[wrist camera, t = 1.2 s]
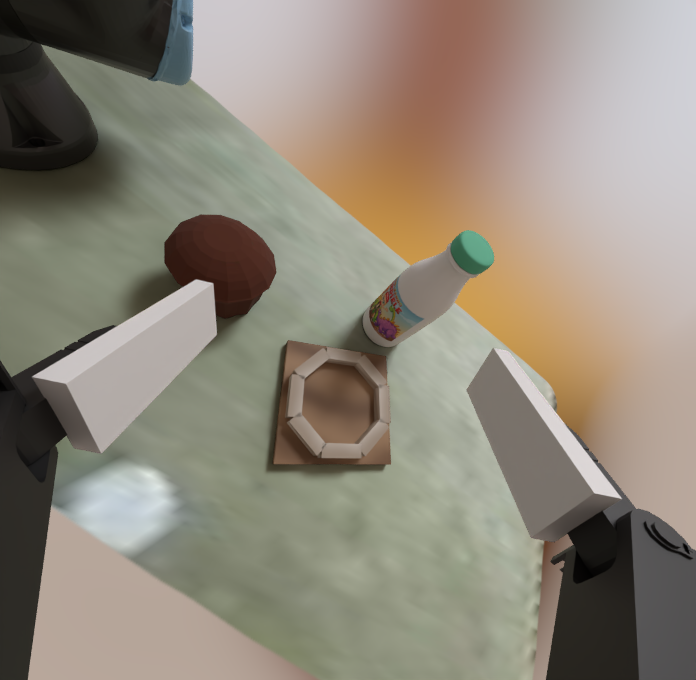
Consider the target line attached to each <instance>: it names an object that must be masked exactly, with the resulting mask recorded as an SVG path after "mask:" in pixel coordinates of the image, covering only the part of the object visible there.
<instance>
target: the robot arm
mask: <svg viewBox="0 0 696 680" xmlns="http://www.w3.org/2000/svg"><path fill="white" fill-rule="evenodd" d="M192 21H193V0H0V167H6V168H13V169H24V170H44V169H54V168H60V167H64V166H68V165H71V164H74V163H77V162H79V161H81V160H83V159H84V158H86V157H87V156H88V155H90V154H91V153H92V152H93V150H94V149H95V147H96V145H97V141H98V134H97V130H96V127H95V125H94V123H93V120H92V118H91V115H90V113H89V111H88V109H87V108H86V106H85V104H84V103H83V102H82V101H81V99H80V98H79V97H78V96H77V95H76V94H75V93H74V91H73V90H72V89H71V87H70V86H69V84H68V83H67V82H66V80H65V79H64V78H63V76H62V75H61V73H60V72H59V71H58V69H57V68H56V67H55V65H54V64H53V63H52V62H51V60H50V59H49V58H48V56H47V55H46V53H45V52H44V50H43V48H42V46H41V44H42V45H46V46H49V47H52V48H55V49H58V50H62V51H65V52H68V53H71V54H74V55H77V56H80V57H83V58H86V59H89V60H92V61H95V62H98V63H102V64H105V65H108V66H111V67H114V68H117V69H120V70H123V71H126V72H129V73H132V74H135V75H139V76H142V77H145V78H147V79H148V80H151V81H158V80H159V81H163V82H167V83H171V84H175V85H184V84H186V83H187V82H188V81H189V80H190V77H191V72H192V60H193V26H192ZM216 335H217V327H216V313H215V299H214V285H213V283H210V282H205V281H201V280H197V279H196V280H194V281H193V282H191V283H189V284H188V285H186V286H184V287H183V288H181V289H179V290H177V291H176V292H174V293H172V294H171V295H169V296H167V297H166V298H164V299H162V300H161V301H159V302H157V303H156V304H154V305H152V306H150V307H149V308H147V309H145V310H144V311H142V312H140V313H139V314H137V315H135V316H134V317H132V318H130V319H129V320H127V321H125V322H123V323H122V324H120V325H118V326H114V325H112V326H109V327H106V328H103V329H100V330H96V331H93V332H92V333H90V334H88V335H86V336H85V337H83V338H81V339H79V340H78V342H74V343H72V344H70V345H69V346H67V347H65V349H64V350H60V351H58V352H56V353H54V354H52V355H51V356H49V357H47V358H45V359H44V360H42V361H40V362H38V363H36V364H35V365H33V366H31V367H29V368H28V369H26V370H24V371H22V372H20V373H19V374H17V375H15V376H13V377H12V378H11V376H10V375H9V373H8V372H7V370H6V369H5V367H4V366H3V364H2V362H1V361H0V680H28V672H29V665H30V657H31V650H32V643H33V635H34V628H35V620H36V613H37V606H38V599H39V591H40V583H41V576H42V569H43V562H44V554H45V547H46V539H47V532H48V524H49V517H50V510H51V502H52V495H53V488H54V480H55V473H56V465H57V458H58V451H57V447H56V446H55V445H56V444H57V443H58V442H59V441H60V440H62V439H63V438H64V437H65V436H66V435H67V437H68V439H69V441H70V442H71V444H72V446H73V447H74V448H75V449H80V450H86V451H91V452H96V453H102V452H103V451H104V450H105V449H106V448H107V447H108V446H109V445H110V444H111V443H112V442H113V441H114V440H115V439H116V438H117V437H118V436H119V435H120V434H121V433H122V432H123V431H124V430H125V429H126V428H127V427H128V426H129V425H130V424H131V423H132V422H133V420H134V419H135V418H136V417H137V416H138V415H139V414H140V413H141V412H142V411H143V410H144V409H145V408H146V407H147V406H148V405H149V404H150V403H151V402H152V401H153V400H154V399H155V398H156V397H157V396H158V395H159V394H160V393H161V392H162V391H163V390H164V389H165V388H166V387H167V386H168V385H169V384H170V382H171V381H172V380H173V379H174V378H175V377H176V376H177V375H178V374H179V373H180V372H181V371H182V370H183V369H184V368H185V367H186V366H187V365H188V364H189V363H190V362H191V361H192V360H193V359H194V358H195V357H196V356H197V355H198V354H199V353H200V352H201V351H202V350H203V349H204V348H205V347H206V346H207V344H208V343H209V342H210V341H211V340H212V339H213V338H214V337H215V336H216ZM467 392H468V394H469V397H470V399H471V401H472V404H473V406H474V408H475V411H476V413H477V415H478V417H479V420H480V422H481V424H482V427H483V429H484V431H485V433H486V436H487V438H488V440H489V443H490V445H491V447H492V450H493V452H494V454H495V456H496V459H497V461H498V463H499V466H500V468H501V470H502V472H503V475H504V477H505V479H506V482H507V484H508V486H509V489H510V491H511V493H512V495H513V498H514V500H515V502H516V505H517V507H518V509H519V512H520V514H521V516H522V518H523V521H524V523H525V525H526V528H527V530H528V532H529V534H530V537H531V538H534V539H540V540H545V541H550V542H555V541H557V540H559V539H560V538H561V537H563V536H565V535H566V534H568V535H569V537H570V539H571V541H572V543H573V544H574V545H572V546H571V547H569V548H568V549H566V550H564V551H562V552H561V553H559V554H557V555H556V556H554V557H553V558H552V560H551V563H552V564H554V565H555V564H557V563H559V562H560V561H562V560H563V561H565V563H564V567H563V568H561V569H560V570H561V571H562V572H563V576H562V583H561V588H560V595H559V601H558V608H557V613H556V621H555V626H554V633H553V638H552V645H551V652H550V658H549V664H548V670H547V676H546V680H696V551H695V550H693V549H691V547H690V546H689V545H688V543H687V542H686V541H685V540H684V538H682V537H681V536H680V535H679V534H678V533H677V532H676V531H675V530H674V529H673V528H672V527H671V526H669V525H668V524H667V523H666V522H664V521H663V520H661V519H660V518H659V517H657V516H655V515H653V514H652V513H650V512H648V511H644V510H641V509H636V508H635V507H634V505H633V504H632V503H631V502H630V500H629V499H628V498H627V497H626V495H624V493H623V491H622V490H621V489H620V488H619V486H618V485H617V484H616V483H615V481H614V480H613V479H612V477H611V476H610V475H609V474H608V472H607V471H606V470H605V469H604V467H603V466H602V465H601V464H600V463H598V460H597V459H596V457H595V456H594V455H593V453H592V452H589V448H588V447H587V446H586V445H585V443H584V442H583V441H582V439H581V438H580V437H579V436H578V435H577V434H576V433H575V432H574V431H573V430H572V429H570V428H569V427H568V426H567V425H566V424H565V423H563V421H562V420H561V419H560V417H559V416H558V415H557V414H556V412H555V411H554V410H553V408H552V407H551V406H550V404H549V403H548V402H547V401H546V399H545V398H544V397H543V395H542V394H541V393H540V391H539V390H538V389H537V388H536V386H535V385H534V384H533V382H532V381H531V380H530V378H529V377H528V376H527V375H526V373H525V372H524V371H523V369H522V368H521V367H520V365H519V364H518V363H517V362H516V360H515V359H514V358H513V356H512V355H511V354H510V352H509V351H505V350H500V349H496V348H493V349H492V351H491V352H490V354H489V355H488V357H487V358H486V360H485V362H484V363H483V365H482V366H481V368H480V369H479V371H478V373H477V374H476V376H475V377H474V379H473V381H472V382H471V384H470V385H469V387H468V388H467Z"/></svg>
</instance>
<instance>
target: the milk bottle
mask: <svg viewBox="0 0 696 680" xmlns="http://www.w3.org/2000/svg"><path fill="white" fill-rule="evenodd" d="M493 262H494V254H493V251H492V248H491V246H490V245H489V243H488V242H487V241H486V240H485V239H484V238H483V237H482V236H480V235H479V234H478V233H476V232H474V231H469V230H467V231H464V232H462V233H461V234H459V235H458V236H457V237H456V238H455V239H454V240H453V241H452V243H450V244H449V245H448V246H447V249H446V251H444V252H442V253H440V254H438V255H436V256H434V257H431V258H427V259H424V260H421V261H419V262H417V263H415V264H413V265H411V266H410V267H409V268H407V269H406V270H405V271H404V272H403V273H402V274H401V275H400V276H398V277H397V278H396V279H395V280H394V281H393V282H392V284H391V285H390V286H389V287H388V288H387V289H386V290H385V291H384V292H383V293H382V294H381V295H380V296H379V297H378V298H377V299H376V300H375V301H374V302H373V303H372V304H371V305H370V306H369V307H368V309H367V310H366V311H365V313H364V316H363V328H364V330H365V333H366V334H367V336H368V337H369V338H370V339H371V340H372V341H373V342H374V343H376V344H377V345H380V346H383V347H392V346H395V345H397V344H399V343H401V342H402V341H404V340H405V339H407V338H408V337H410V336H411V335H413V334H415V333H416V332H418V331H419V330H421V329H422V328H424V327H425V326H427V325H428V324H430V323H431V322H433V321H434V320H436V319H437V318H439V317H440V316H441V315H443V314H444V313H445V312H446V311H447V310H448V309H449V308H450V307H451V306H452V305H453V303H454V302H455V300H456V299H457V297H458V295H459V293H460V291H461V289H462V288H463V286H464V285H465V283H466V282H467V281H468V280H469V279H470V278H474V277H476V276H478V275H479V274H480V273H482V272H483V271H485V270H486V269H488V268H489V267H490V266H491V265H492V264H493Z"/></svg>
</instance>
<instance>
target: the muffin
mask: <svg viewBox="0 0 696 680" xmlns="http://www.w3.org/2000/svg"><path fill="white" fill-rule="evenodd" d="M165 264H166V266H167V268H168V269H169V271H170V272H171V274H172V275H173V277H174V278H175V280H176V281H177V283H178V284H180V285H181V286H183V287H184V286H186V285H188V284H189V283H191V282H193V281H194V280H196V279H197V280H201V281H205V282H210V283H213V285H214V299H215V313H216V315H217V316H220V317H222V318H225V319H226V318H229V317H233V316H236V315H242V314H247V313H248V311H249V310H250V309H251V307H252V306H253V305H254V304H255V303H256V302H257V301H258V300H259V299H260V297H261V295H262V293H263V292H264V291H266V290H267V289H269V287H270V285H271V283H272V281H273V279H274V276H275V274H276V266H275V260H274V254H273V253H272V251H271V250H270V249H269V247H268V246H267V244H266V243H265V242H264V240H263V239H262V238H261V237H260V236H259V235H258V234H257V233H255V232H254V231H253V230H251V229H250V228H248V227H247V226H245V225H244V224H242V223H241V222H240V221H237V220H234V219H231V218H228V217H225V216H222V215H199V216H196V217H193V218H191V219H188V220H186V221H183V222H181V223H180V224H179V225H178V227H176V229H175V230H174V231H173V232H172V234H171V235H170V236H169V238H168V239H167V240H166V241H165Z"/></svg>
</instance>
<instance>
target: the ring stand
mask: <svg viewBox="0 0 696 680" xmlns="http://www.w3.org/2000/svg"><path fill="white" fill-rule="evenodd" d="M389 423H391V418H390V396H389V386H387V366H386V356H381V355H375V354H369V353H363V352H357V351H351V350H345V349H339V348H332V347H326V346H320V345H314V344H308V343H302V342H296V341H290V340H288V341H287V344H286V352H285V361H284V369H283V377H282V386H281V394H280V403H279V411H278V420H277V428H276V437H275V445H274V454H273V462H272V464H391V455H390V433H389Z"/></svg>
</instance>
